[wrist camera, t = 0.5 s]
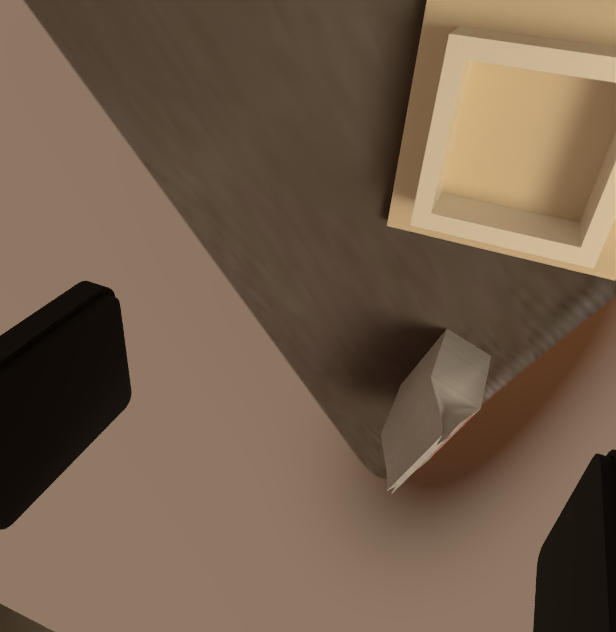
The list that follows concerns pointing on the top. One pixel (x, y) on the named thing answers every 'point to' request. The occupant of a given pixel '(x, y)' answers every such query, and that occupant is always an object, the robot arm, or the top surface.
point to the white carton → (433, 405)
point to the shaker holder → (514, 131)
